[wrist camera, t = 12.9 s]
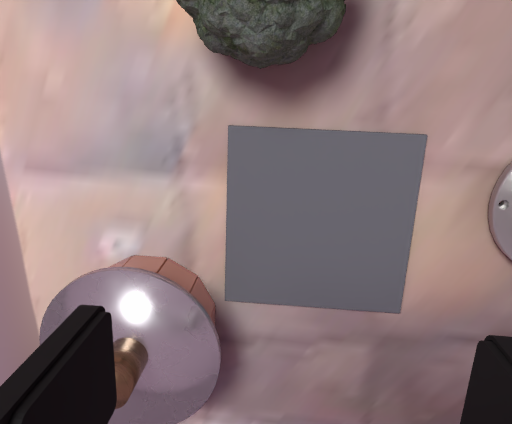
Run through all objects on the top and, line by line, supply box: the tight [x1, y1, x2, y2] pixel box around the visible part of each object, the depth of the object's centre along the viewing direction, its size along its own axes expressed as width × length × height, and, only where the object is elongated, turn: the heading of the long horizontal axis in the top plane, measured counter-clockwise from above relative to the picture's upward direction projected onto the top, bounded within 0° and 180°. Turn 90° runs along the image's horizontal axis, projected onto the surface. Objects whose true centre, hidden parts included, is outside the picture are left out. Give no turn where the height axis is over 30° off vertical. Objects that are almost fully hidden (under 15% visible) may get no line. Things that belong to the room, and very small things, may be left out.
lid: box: [40, 267, 221, 424], centre depth 35 cm, size 16×16×5 cm
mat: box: [225, 125, 427, 313], centre depth 39 cm, size 17×17×1 cm
